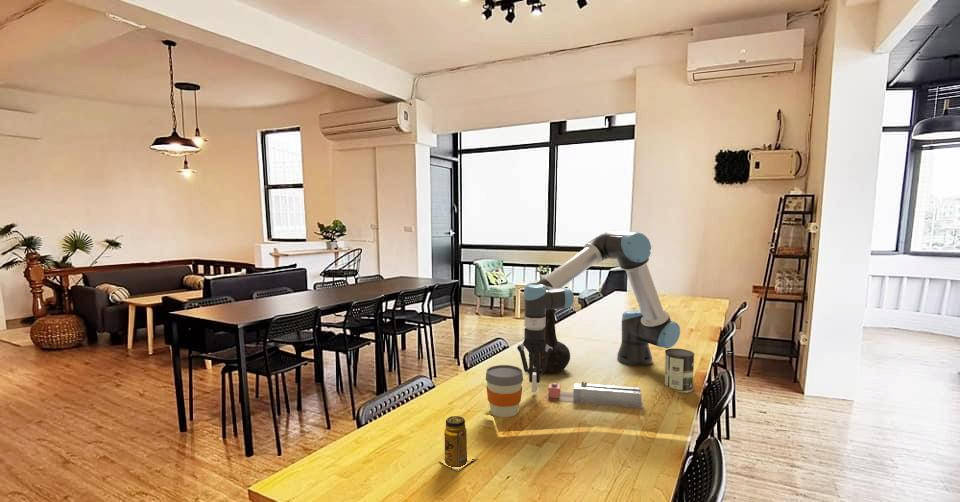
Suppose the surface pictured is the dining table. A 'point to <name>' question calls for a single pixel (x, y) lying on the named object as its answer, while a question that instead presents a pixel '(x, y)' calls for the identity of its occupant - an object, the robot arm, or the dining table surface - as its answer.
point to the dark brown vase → (559, 352)
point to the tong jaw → (611, 387)
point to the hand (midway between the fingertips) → (534, 390)
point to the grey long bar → (606, 396)
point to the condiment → (456, 442)
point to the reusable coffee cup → (504, 389)
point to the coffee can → (679, 369)
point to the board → (569, 398)
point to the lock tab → (554, 390)
